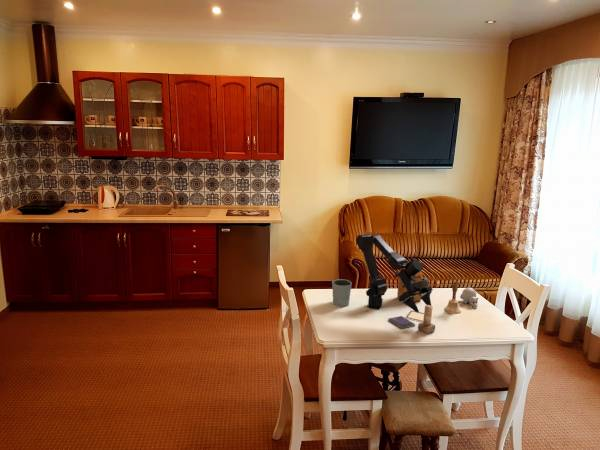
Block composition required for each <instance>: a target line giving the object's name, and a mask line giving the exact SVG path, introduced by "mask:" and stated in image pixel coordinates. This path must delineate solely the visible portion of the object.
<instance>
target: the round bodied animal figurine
mask: <svg viewBox="0 0 600 450" xmlns="http://www.w3.org/2000/svg"><path fill="white" fill-rule="evenodd" d="M459 298H460V299H461V300H462V302H463V304H468V303H469V304H471V306H472V307H473V308H477V307H478V301H479V297H477V291H476V289H474V288H472V287H466V288H464V289H463V290H462V293H461V294H460V296H459Z"/></svg>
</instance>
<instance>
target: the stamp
mask: <svg viewBox="0 0 600 450" xmlns="http://www.w3.org/2000/svg"><path fill="white" fill-rule="evenodd" d="M423 313H424V320H423V322H419V323H417V324H418V325H417V329H418V331H420V332H421V333H423V334H426V335H428V334H432V333H434V332H435V330H436V324H433V323H432V318H433V317H432V315H433V306H432V305H431V306H430V305H426V304H425V305H424V311H423Z"/></svg>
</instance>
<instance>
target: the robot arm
mask: <svg viewBox="0 0 600 450" xmlns="http://www.w3.org/2000/svg"><path fill="white" fill-rule="evenodd" d="M355 243H356V245H357V247H358V249H359V250H360V251H361V252H362V253H363V256H364V257H363V258H364V261H365V263H366V267H367V270H368V274H369V277H370V280H369V288H368V289H367V290H366V291H365V294H366V297H368V302H367V306H366V307H367V308H369V309H374V310H375V309H376V310H380V309H381V308H382V306H383V300H384V299H383V296H385V294H386V293H387V290H388V284H387V280H386V278H385V277H384V278H383V277H382V276H381V275H380V271H379V268H378V265H377V262H376V258H375V255H374V252H373V247H374V246H375V247H376V248H377V250H379V251H380V252H381V254H382V255H383V256H384V257H385V258H386V259H387V264H388V265H389V267H390V268H391V269H392V270H393V271H395V275H394V278H398V279H399V278H400V279H401V281H402V283H403V286H402V287H403V288H405V289H406V290H407V292H404V293H403V294H401V295H400V296H399V297H397V298H398V299H397V300H398V302H399V303H402V304H403V305H406V306H407V307H409V308H410V310H413V311H415V312H417V313H418V312H420V310H419V309H418V306H417V304H416V301H414V296H417V295H419V296H421V301H422V302H424V304H425V305H430V306H432V301H431V294H432V293H433V292H432V291H433V290H434V289H433V288H432V286H430V280H429V279H428V278H427V277H423V278H422V281H418V280H417V279H414V278H413V276H415V275H417V274H418V273H419V272H420V271H421V272H422V271H423V270H424V264H423V263H422V261H421V262H419V260H417V259H416V258H411V259H410V262H409V261H408V260H407V258H405V257H404V256H402V255H401V254H399V253H397V252H395V251H394V250H393V248H391V247H390V245H389V244H388V243H387V242H386V241H385V240H384V239H383V238H382V236H381V235H380V234H373V235H371V234H370V233H366V234H359V235H357V236H356V239H355ZM403 268H405V269H403ZM400 269H402V270H400ZM420 289H421V290H420Z"/></svg>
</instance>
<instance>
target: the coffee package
mask: <svg viewBox="0 0 600 450" xmlns="http://www.w3.org/2000/svg"><path fill="white" fill-rule="evenodd" d="M410 261H411V260H410ZM410 261H409V262H410ZM418 261H419V260H418ZM419 262H421V263H422V261H421V260H420V261H419ZM403 269H405V268H403ZM400 270H402V269H399V271H400ZM413 278H414V279H417V280H418V281H422V278H424V276H423V272H422V271H420V272H419V273H418V274H417V275H415V276H413ZM397 283H398V284H397V293H396V294H397V296H396V297H397V298H398V297H399V296H400V295H401V294H403V293H404V292H407V290H406V289H405V288H403V287H402V286H403V283H402V281H401V279H400V278H399V277H398V282H397ZM420 290H421V289H420ZM421 301H422V299H421V296H419V295H417V296H414V302H421Z"/></svg>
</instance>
